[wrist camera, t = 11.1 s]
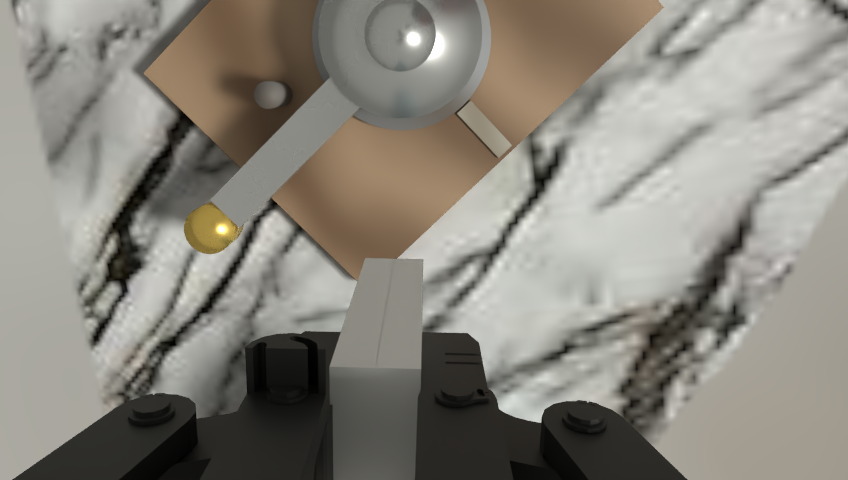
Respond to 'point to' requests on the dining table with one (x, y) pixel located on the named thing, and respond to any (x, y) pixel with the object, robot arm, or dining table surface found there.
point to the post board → (376, 135)
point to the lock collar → (352, 95)
